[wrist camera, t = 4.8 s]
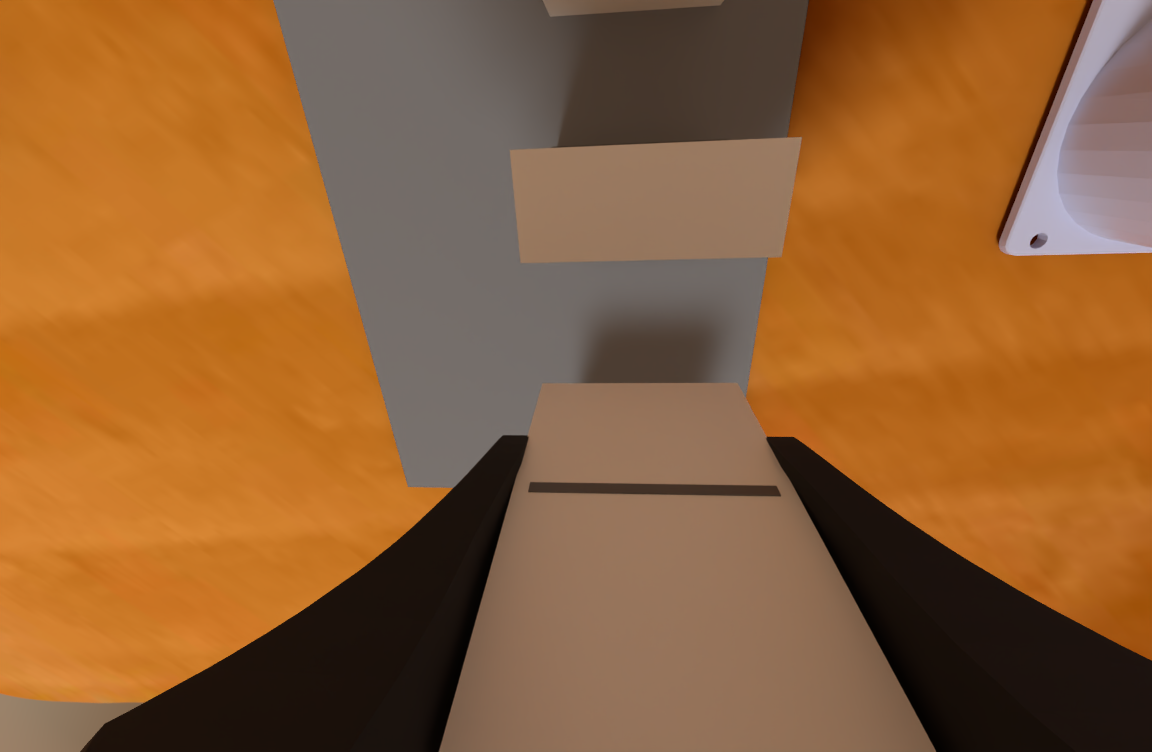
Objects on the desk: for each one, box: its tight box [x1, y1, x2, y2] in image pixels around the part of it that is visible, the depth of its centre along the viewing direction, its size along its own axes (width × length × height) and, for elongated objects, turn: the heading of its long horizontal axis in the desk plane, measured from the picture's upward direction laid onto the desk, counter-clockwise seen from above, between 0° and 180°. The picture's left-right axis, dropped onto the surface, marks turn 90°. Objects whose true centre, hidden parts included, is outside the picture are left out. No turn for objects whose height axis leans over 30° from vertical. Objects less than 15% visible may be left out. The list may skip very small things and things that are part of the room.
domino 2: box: [439, 383, 936, 752], centre depth 8 cm, size 2×5×8 cm, turn 93°
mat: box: [274, 0, 809, 488], centre depth 16 cm, size 16×26×1 cm, turn 2°
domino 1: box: [510, 137, 802, 263], centre depth 12 cm, size 2×5×8 cm, turn 92°
